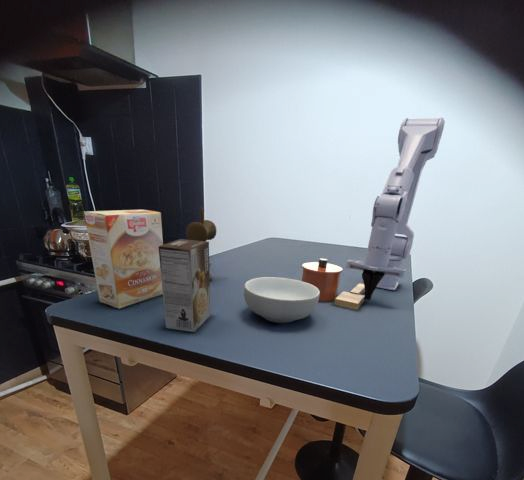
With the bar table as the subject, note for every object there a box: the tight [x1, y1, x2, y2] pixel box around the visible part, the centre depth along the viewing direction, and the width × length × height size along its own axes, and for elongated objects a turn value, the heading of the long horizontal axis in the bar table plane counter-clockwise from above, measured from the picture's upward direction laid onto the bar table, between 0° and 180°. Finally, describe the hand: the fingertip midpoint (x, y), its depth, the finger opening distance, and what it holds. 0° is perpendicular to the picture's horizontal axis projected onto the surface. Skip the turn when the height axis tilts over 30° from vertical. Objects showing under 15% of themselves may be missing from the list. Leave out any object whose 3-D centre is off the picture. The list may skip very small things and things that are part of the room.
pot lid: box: [301, 258, 343, 274], centre depth 85 cm, size 11×11×3 cm
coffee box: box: [159, 238, 211, 333], centre depth 63 cm, size 9×6×16 cm
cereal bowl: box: [243, 276, 320, 324], centre depth 71 cm, size 17×17×7 cm
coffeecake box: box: [83, 209, 164, 310], centre depth 73 cm, size 15×7×20 cm, turn 151°
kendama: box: [185, 206, 217, 281], centre depth 90 cm, size 6×10×20 cm, turn 169°
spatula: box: [333, 282, 365, 311], centre depth 88 cm, size 19×6×2 cm, turn 152°
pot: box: [301, 268, 342, 302], centre depth 87 cm, size 10×10×8 cm
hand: (367, 298), depth 86 cm, fingers closed
